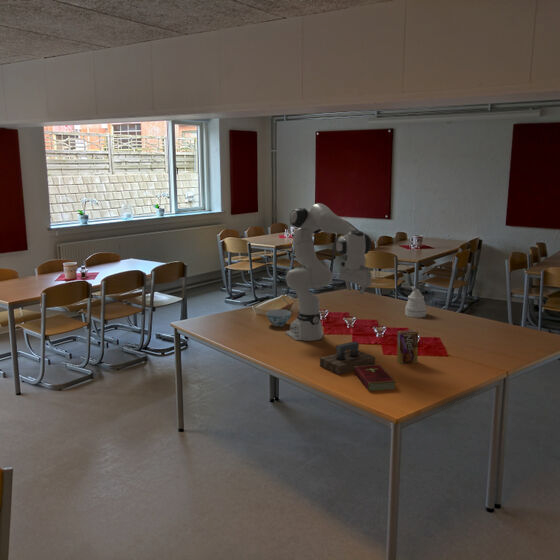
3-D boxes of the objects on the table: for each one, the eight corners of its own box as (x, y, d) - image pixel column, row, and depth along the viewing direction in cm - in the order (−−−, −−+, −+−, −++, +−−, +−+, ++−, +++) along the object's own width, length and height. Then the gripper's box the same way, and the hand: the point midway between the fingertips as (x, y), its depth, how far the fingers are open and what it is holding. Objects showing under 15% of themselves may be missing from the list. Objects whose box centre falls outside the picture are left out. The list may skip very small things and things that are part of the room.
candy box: (414, 360, 270) (415, 329, 267) (417, 363, 266) (418, 332, 263) (396, 361, 269) (397, 330, 266) (399, 364, 265) (400, 333, 262)
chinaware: (291, 328, 328) (291, 315, 326) (265, 328, 328) (265, 315, 326) (291, 321, 342) (291, 309, 341) (266, 321, 343) (266, 309, 341)
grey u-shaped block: (336, 366, 263) (336, 345, 261) (354, 362, 269) (354, 341, 267) (340, 368, 260) (340, 347, 258) (358, 363, 266) (358, 342, 264)
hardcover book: (368, 392, 234) (368, 382, 233) (354, 374, 254) (354, 365, 253) (395, 390, 235) (395, 380, 235) (379, 372, 256) (380, 364, 255)
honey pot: (404, 316, 350) (405, 288, 346) (406, 311, 362) (406, 284, 358) (425, 318, 346) (426, 289, 343) (426, 312, 358) (427, 285, 355)
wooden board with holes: (320, 365, 264) (319, 357, 264) (355, 357, 276) (355, 349, 275) (338, 374, 253) (338, 366, 252) (375, 364, 265) (375, 356, 264)
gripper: (375, 267, 265) (374, 295, 268) (347, 260, 282) (347, 287, 285) (365, 268, 262) (364, 297, 265) (338, 261, 279) (337, 288, 282)
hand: (355, 291), depth 275 cm, fingers open, 8 cm apart
